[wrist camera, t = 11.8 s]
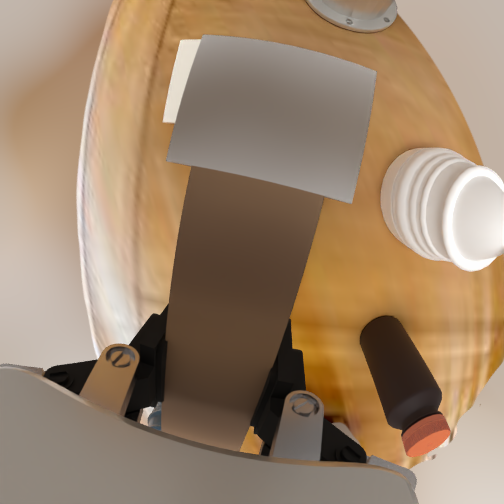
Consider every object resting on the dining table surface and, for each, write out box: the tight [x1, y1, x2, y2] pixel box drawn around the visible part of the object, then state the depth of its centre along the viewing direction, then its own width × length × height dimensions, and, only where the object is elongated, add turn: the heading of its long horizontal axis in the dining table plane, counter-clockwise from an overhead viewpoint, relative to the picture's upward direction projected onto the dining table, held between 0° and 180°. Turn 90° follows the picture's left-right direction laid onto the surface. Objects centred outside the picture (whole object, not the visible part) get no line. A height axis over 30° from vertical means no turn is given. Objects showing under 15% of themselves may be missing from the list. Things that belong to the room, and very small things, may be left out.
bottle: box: [360, 316, 451, 457], centre depth 26 cm, size 7×7×20 cm
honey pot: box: [381, 147, 504, 272], centre depth 20 cm, size 13×13×18 cm
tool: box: [161, 35, 377, 451], centre depth 10 cm, size 22×5×4 cm, turn 167°
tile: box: [163, 39, 201, 124], centre depth 26 cm, size 2×8×11 cm
